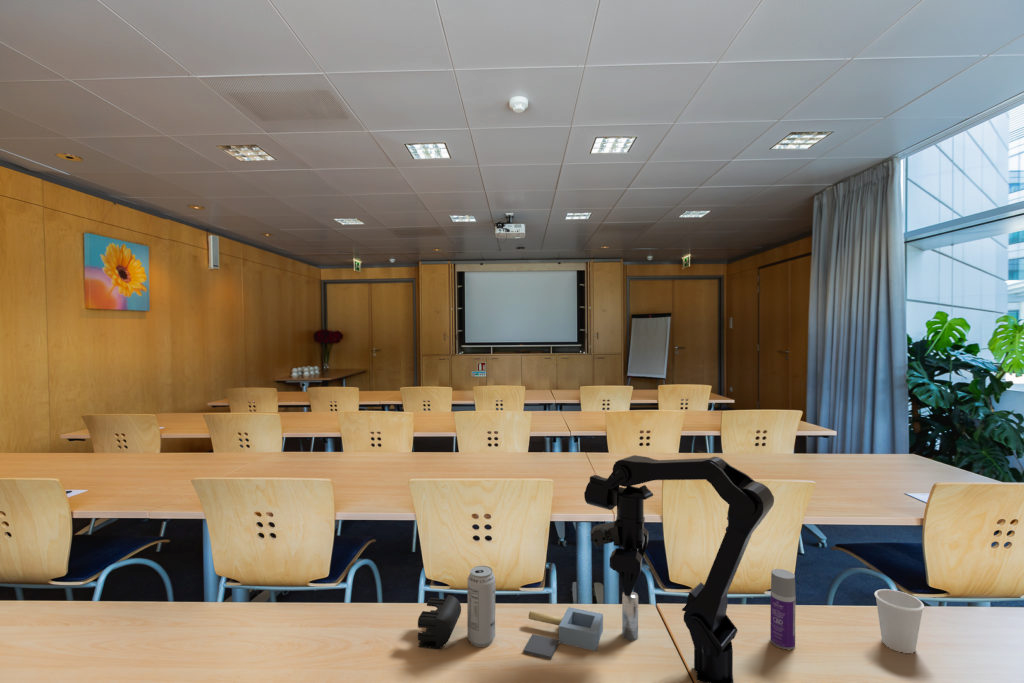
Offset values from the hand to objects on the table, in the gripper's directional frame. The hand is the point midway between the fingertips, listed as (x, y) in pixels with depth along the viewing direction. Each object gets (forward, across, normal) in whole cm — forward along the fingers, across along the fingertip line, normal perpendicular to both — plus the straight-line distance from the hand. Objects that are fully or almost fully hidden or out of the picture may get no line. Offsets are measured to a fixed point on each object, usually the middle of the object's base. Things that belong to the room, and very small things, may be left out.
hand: (630, 585), depth 108 cm
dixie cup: (+12, -17, +54) cm, 58 cm away
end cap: (+11, +15, -39) cm, 43 cm away
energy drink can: (+11, +13, -30) cm, 35 cm away
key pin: (+11, 0, 0) cm, 11 cm away
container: (+12, -9, +31) cm, 34 cm away
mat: (+11, +11, -17) cm, 23 cm away
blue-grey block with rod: (+11, +4, -14) cm, 18 cm away
